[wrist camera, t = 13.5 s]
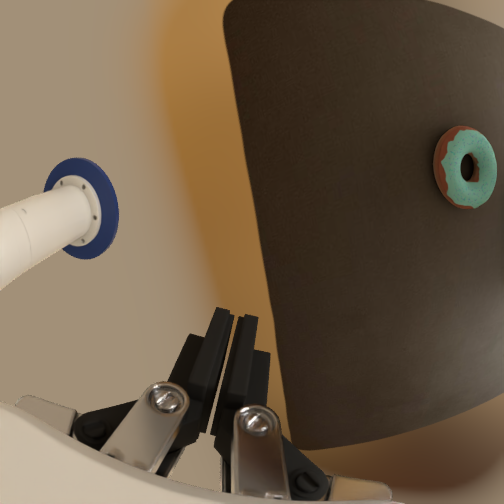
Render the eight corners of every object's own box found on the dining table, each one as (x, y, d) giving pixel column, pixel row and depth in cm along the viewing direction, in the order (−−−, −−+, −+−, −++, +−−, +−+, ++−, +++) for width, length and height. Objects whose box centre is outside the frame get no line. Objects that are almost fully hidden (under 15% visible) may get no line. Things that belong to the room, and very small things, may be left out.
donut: (433, 212, 34) (447, 219, 30) (421, 128, 30) (435, 128, 26) (488, 199, 31) (503, 205, 28) (479, 123, 27) (495, 124, 24)
